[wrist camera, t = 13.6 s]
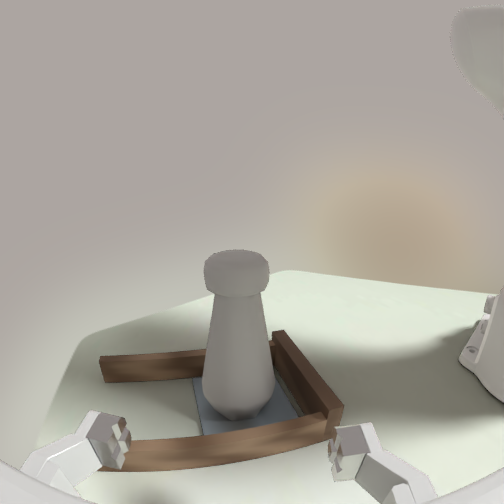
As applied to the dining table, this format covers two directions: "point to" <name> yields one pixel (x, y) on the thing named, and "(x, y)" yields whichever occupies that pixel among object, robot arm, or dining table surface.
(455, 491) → the robot arm
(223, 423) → the bay
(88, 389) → the dining table surface
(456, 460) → the dining table surface
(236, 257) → the salt shaker
